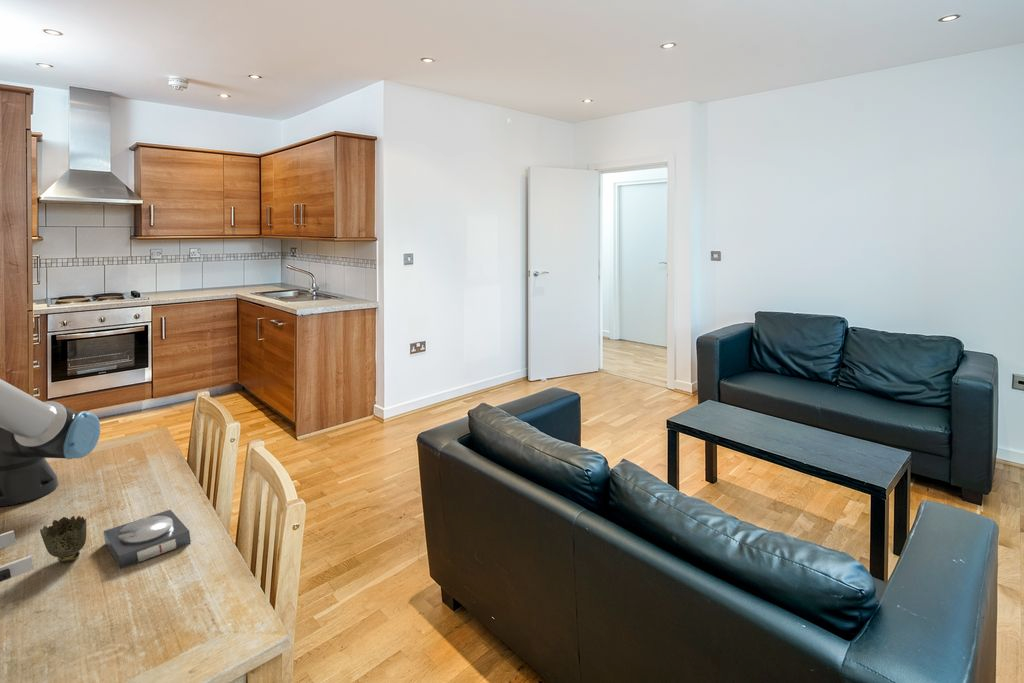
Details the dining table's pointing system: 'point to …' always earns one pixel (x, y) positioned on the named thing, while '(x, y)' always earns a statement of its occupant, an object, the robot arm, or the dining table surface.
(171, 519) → the kitchen scale
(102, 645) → the dining table surface
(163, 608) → the dining table surface
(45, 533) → the cup
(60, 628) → the dining table surface
